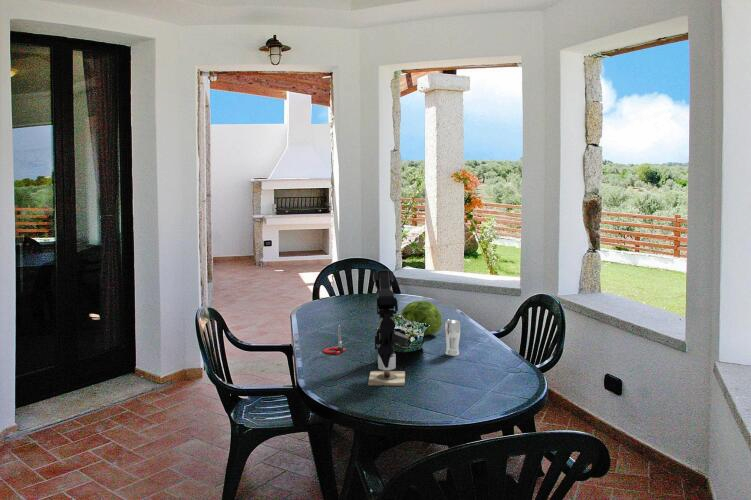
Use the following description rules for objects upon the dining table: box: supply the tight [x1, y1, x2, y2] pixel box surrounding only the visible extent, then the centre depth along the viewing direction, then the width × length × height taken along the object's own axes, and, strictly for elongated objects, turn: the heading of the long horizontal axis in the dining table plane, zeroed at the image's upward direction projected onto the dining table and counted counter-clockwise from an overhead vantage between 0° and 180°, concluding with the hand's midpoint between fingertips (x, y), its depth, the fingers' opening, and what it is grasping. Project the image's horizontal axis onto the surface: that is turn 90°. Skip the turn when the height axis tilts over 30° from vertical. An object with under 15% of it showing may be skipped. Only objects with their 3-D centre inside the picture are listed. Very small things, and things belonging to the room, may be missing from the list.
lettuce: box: [399, 300, 443, 337], centre depth 305 cm, size 18×23×19 cm
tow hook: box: [323, 324, 347, 355], centre depth 278 cm, size 8×13×9 cm
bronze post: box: [383, 370, 391, 378], centre depth 240 cm, size 2×2×4 cm
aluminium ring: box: [377, 353, 397, 371], centre depth 240 cm, size 7×7×5 cm
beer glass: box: [444, 319, 461, 357], centre depth 272 cm, size 7×7×15 cm
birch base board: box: [367, 370, 406, 387], centre depth 241 cm, size 14×14×1 cm
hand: (386, 364), depth 240 cm, fingers closed on aluminium ring, 7 cm apart
